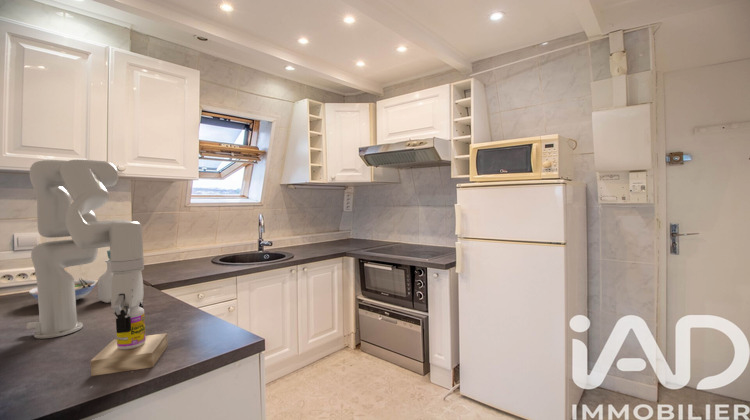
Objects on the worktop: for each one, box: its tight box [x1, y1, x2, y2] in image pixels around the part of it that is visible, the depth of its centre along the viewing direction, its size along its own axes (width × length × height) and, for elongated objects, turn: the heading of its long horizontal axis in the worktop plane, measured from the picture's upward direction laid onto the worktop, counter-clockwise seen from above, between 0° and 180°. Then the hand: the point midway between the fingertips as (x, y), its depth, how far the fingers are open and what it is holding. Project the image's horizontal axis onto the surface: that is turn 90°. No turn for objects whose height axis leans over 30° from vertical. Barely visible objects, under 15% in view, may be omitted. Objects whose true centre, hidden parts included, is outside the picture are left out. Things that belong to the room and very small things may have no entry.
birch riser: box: [90, 332, 169, 377], centre depth 99 cm, size 14×14×4 cm
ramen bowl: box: [28, 277, 98, 301], centre depth 156 cm, size 25×23×8 cm
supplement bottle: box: [116, 300, 146, 350], centre depth 99 cm, size 7×7×13 cm
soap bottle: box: [96, 249, 113, 304], centre depth 158 cm, size 10×10×23 cm
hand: (131, 325), depth 98 cm, fingers open, 9 cm apart
